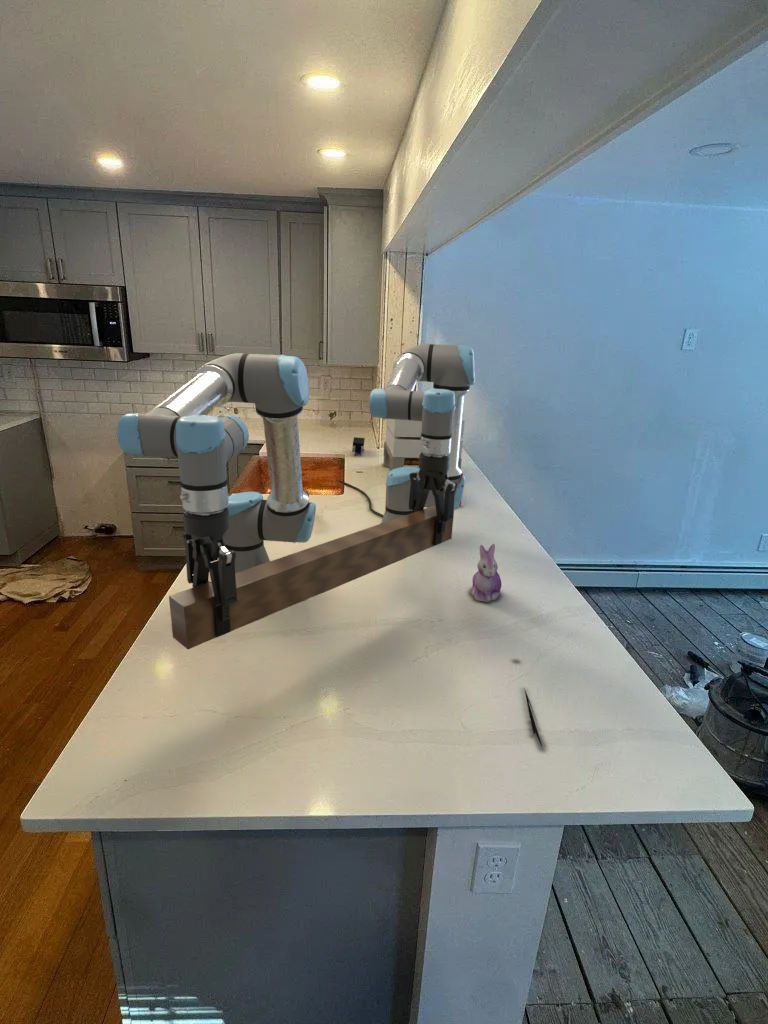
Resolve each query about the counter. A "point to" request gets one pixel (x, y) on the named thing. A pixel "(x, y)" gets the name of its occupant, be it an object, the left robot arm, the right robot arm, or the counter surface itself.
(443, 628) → the counter surface
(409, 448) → the transformer
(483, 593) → the figurine
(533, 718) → the feather
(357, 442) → the figurine character
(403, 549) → the bar
